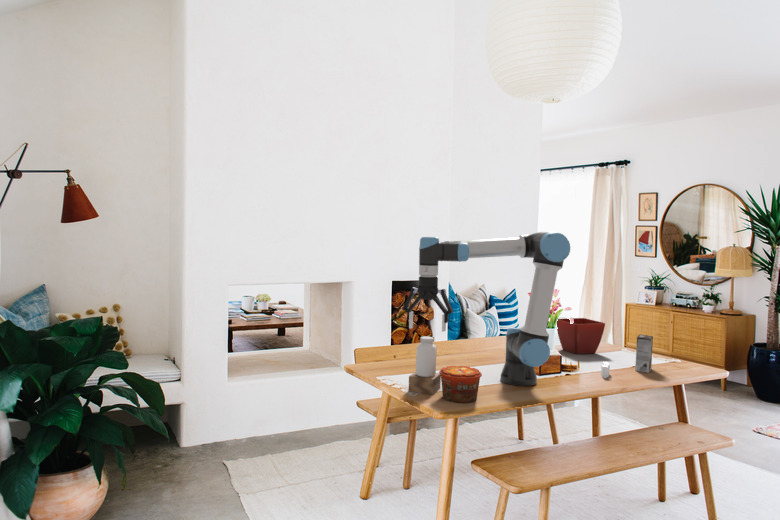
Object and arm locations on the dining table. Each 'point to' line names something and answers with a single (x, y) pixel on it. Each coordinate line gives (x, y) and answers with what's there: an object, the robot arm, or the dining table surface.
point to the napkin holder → (605, 369)
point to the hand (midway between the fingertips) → (427, 329)
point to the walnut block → (424, 383)
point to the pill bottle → (426, 357)
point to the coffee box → (644, 353)
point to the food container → (460, 383)
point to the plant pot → (580, 335)
